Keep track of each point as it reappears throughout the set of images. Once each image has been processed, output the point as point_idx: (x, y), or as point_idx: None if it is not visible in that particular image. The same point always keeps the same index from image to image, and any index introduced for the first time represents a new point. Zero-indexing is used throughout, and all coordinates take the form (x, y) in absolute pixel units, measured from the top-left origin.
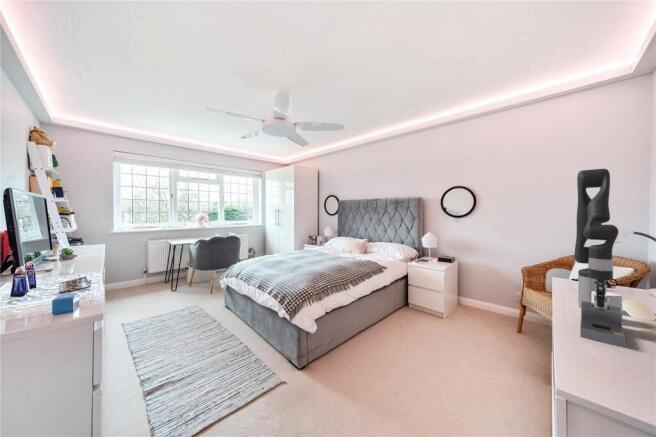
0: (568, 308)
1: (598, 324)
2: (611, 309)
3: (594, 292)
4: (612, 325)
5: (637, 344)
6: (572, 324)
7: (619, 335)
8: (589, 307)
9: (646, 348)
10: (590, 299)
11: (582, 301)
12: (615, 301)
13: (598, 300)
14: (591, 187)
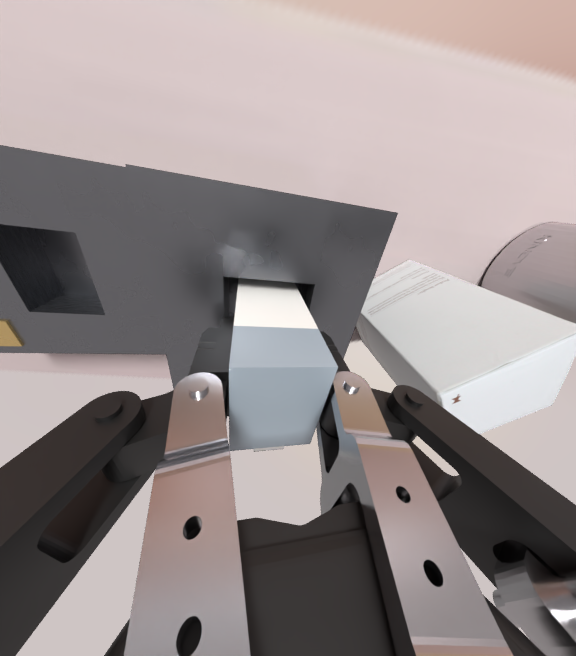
0: (511, 155)
1: (95, 266)
2: None
3: (545, 345)
4: (158, 325)
5: (133, 355)
6: (177, 120)
7: None
8: (174, 252)
9: (115, 369)
10: (556, 285)
11: (383, 217)
12: None
13: (192, 368)
14: None
